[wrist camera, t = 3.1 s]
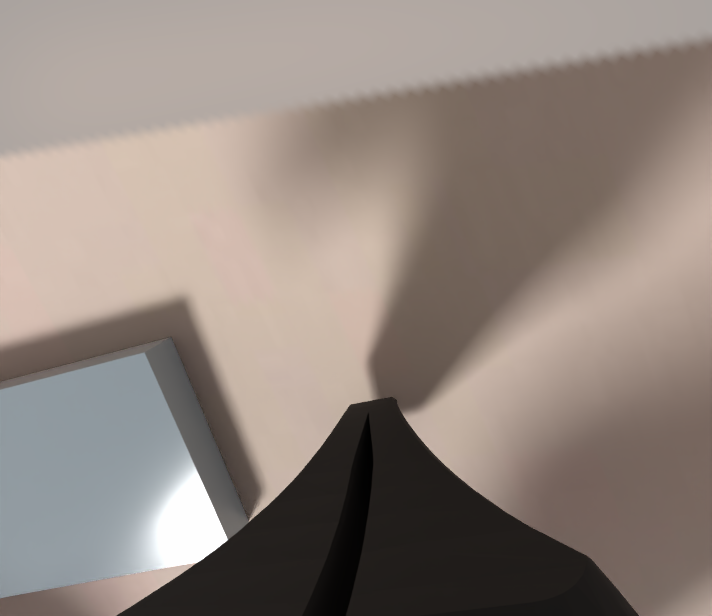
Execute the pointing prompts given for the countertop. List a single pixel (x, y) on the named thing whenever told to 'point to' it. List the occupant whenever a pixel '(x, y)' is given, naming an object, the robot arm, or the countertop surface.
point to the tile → (108, 472)
